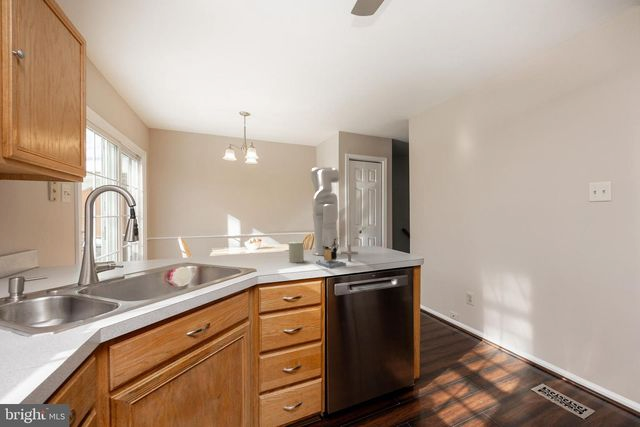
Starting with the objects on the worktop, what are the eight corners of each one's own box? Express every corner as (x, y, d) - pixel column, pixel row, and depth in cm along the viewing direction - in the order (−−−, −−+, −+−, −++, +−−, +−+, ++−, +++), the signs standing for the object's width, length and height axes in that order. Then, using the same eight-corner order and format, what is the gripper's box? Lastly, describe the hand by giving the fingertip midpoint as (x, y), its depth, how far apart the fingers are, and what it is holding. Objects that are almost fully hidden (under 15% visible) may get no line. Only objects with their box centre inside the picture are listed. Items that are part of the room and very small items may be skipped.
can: (292, 263, 160) (291, 242, 159) (286, 260, 168) (286, 241, 167) (306, 261, 164) (306, 241, 164) (300, 259, 172) (300, 240, 172)
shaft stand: (315, 263, 157) (315, 250, 157) (331, 261, 162) (331, 249, 162) (329, 268, 145) (328, 254, 145) (345, 265, 150) (345, 252, 150)
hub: (322, 259, 155) (322, 248, 155) (331, 258, 158) (331, 247, 158) (328, 261, 149) (328, 250, 149) (338, 259, 153) (338, 249, 152)
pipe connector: (357, 263, 157) (357, 245, 157) (340, 262, 159) (339, 245, 159) (358, 259, 167) (358, 243, 167) (342, 259, 169) (342, 243, 169)
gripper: (316, 225, 159) (316, 256, 159) (333, 227, 144) (333, 261, 144) (327, 225, 163) (327, 255, 163) (344, 226, 148) (344, 259, 148)
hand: (330, 257), depth 154 cm, fingers closed on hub, 6 cm apart
